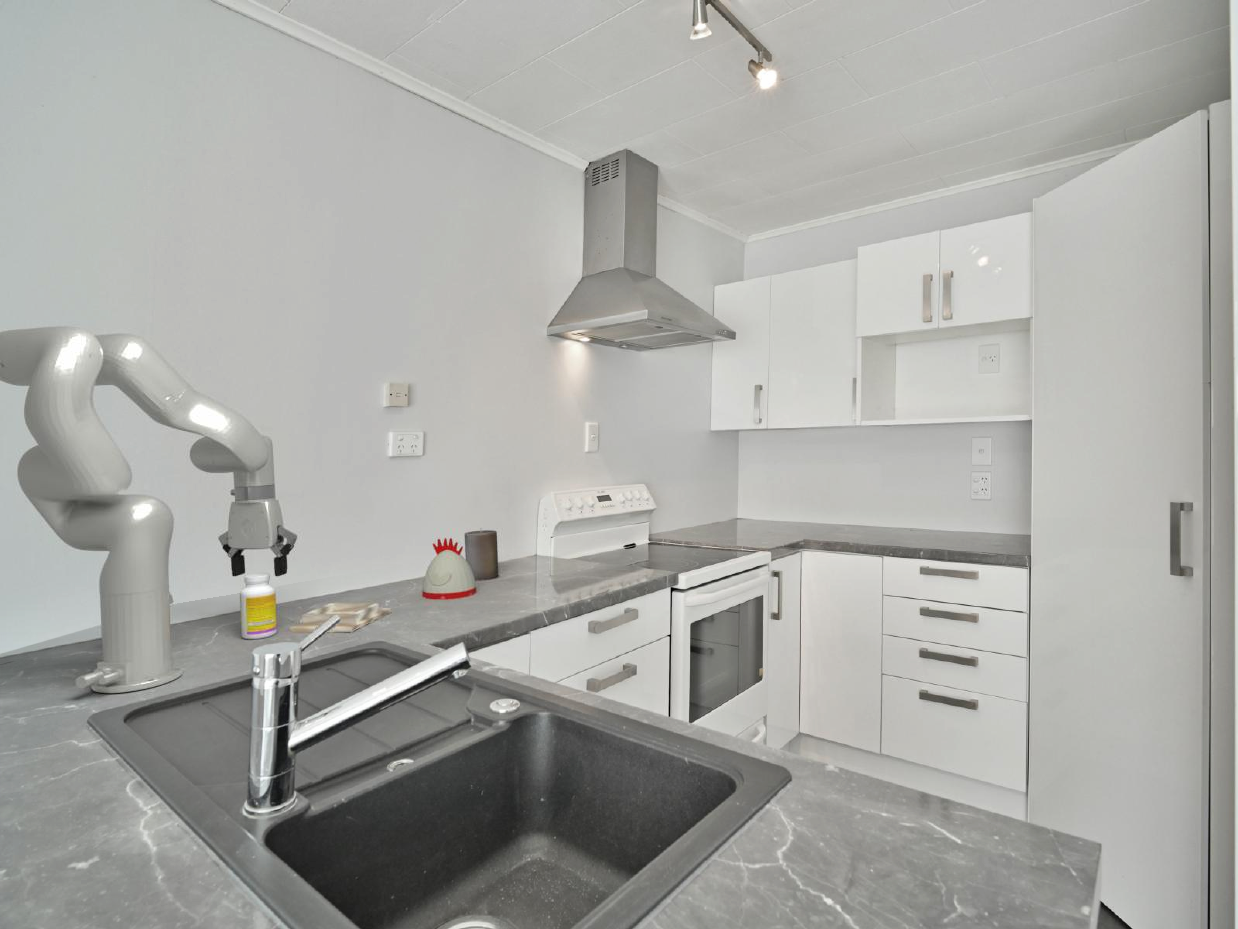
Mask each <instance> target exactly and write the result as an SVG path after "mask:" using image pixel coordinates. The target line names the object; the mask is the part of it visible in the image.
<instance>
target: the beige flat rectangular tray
mask: <svg viewBox="0 0 1238 929" xmlns="http://www.w3.org/2000/svg"><path fill="white" fill-rule="evenodd" d="M390 612H391V613H392V608H389V607H386V608H385V607H382V603H381V602H355V601H354V602H347V601H346V602H344V601H343V602H339V601H338V602H336V601H334V602H331V603H328V604H325V605H323V606H320V607H318V608H316V609H313V610H311V611H309V612H306V613H304V614H302V622H300V623H296V624H295V625H293V626H290V627H289V632H290V633H313V632H312V630H315V628H316V627H318V626H319V625H321V624H322V623H323V622H325V620H326V619H329V617H330V616H333V615H336V614H339V615H340V616H341V620H340V622H339V624H338V625H337V626H336V627H335V628H333V629H332V630H330V631H329V633H328V634H332V633H333V632H334V631H349V630H354V629H356V628H357V627H359V626H363V625H364V624H366V623H369V622H371V621H372V620H374V619H377V618H379V617H381V616H384V615H385V614H387V613H389V614H391V613H390ZM387 615H388V614H387ZM384 617H385V616H384ZM331 632H332V633H331ZM333 634H334V633H333Z"/></svg>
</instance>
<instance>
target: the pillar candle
mask: <svg viewBox="0 0 1238 929" xmlns="http://www.w3.org/2000/svg"><path fill="white" fill-rule="evenodd" d="M497 532H498V531H496V530H492V529H490V530H482V527H480V530H474V531H473V530H472V531H467V532H465V533H464V552H465V553H464V554H465V555H464V556H465V557H464V558H465V560H466V561H467V562H468V564H469V566H470V568H471V570H472V573H473V576H474V579H475V581H483V580H484V581H485V580H491V579H497V578H498V577H499V576H500V575H499V556H498V552H499V551H498V535H497V534H498V533H497Z"/></svg>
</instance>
